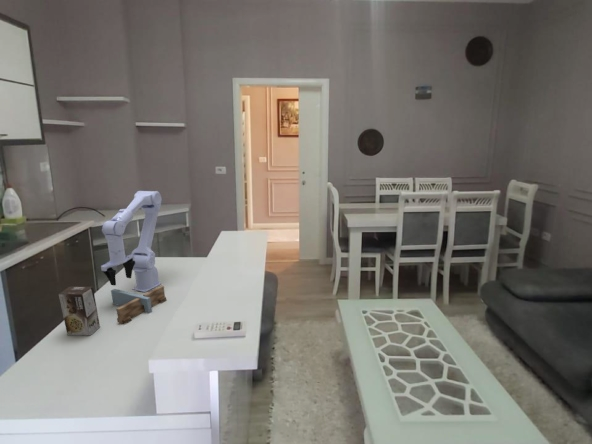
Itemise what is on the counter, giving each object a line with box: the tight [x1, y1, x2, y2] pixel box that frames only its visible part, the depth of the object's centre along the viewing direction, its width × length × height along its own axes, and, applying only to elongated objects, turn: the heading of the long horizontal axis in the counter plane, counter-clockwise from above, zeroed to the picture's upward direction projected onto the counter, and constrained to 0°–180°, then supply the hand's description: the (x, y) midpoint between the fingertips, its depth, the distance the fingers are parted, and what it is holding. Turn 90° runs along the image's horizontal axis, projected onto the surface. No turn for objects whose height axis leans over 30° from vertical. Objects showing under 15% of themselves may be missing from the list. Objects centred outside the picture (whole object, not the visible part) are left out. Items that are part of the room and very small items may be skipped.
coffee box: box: [58, 285, 101, 336], centre depth 137 cm, size 9×6×16 cm
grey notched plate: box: [110, 288, 153, 314], centre depth 155 cm, size 20×2×6 cm, turn 64°
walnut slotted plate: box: [115, 285, 167, 325], centre depth 152 cm, size 22×4×6 cm, turn 153°
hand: (121, 281), depth 158 cm, fingers open, 7 cm apart
